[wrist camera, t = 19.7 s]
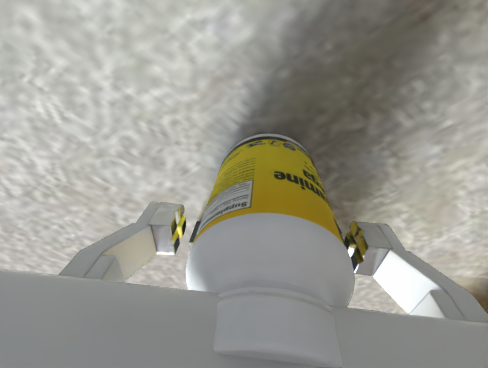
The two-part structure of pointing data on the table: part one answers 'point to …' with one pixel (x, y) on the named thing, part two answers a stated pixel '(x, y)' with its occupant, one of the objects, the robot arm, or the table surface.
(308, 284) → the pill bottle
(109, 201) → the table surface
